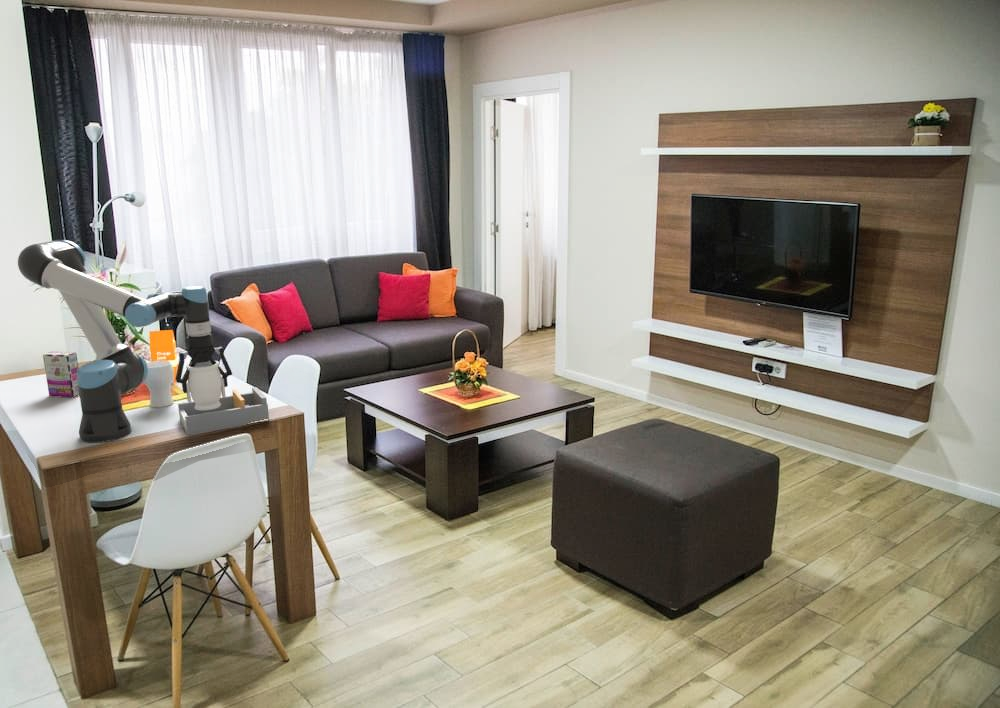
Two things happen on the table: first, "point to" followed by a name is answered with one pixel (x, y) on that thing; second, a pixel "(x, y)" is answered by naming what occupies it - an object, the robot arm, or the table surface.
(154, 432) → the table surface
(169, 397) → the cup
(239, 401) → the block
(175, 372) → the orange juice
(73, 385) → the candy bar box
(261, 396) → the gray open tray
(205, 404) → the jar
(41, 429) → the table surface
